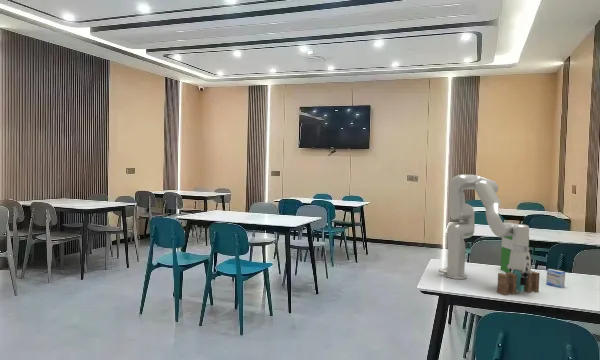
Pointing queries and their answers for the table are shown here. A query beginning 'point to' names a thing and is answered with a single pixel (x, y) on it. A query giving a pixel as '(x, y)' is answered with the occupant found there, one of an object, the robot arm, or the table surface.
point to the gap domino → (518, 281)
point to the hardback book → (506, 253)
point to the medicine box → (555, 278)
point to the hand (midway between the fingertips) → (518, 283)
